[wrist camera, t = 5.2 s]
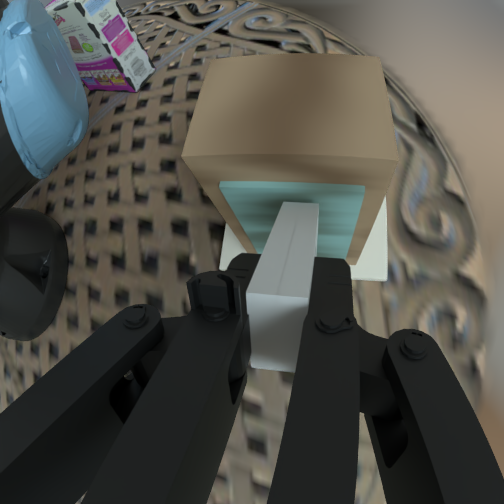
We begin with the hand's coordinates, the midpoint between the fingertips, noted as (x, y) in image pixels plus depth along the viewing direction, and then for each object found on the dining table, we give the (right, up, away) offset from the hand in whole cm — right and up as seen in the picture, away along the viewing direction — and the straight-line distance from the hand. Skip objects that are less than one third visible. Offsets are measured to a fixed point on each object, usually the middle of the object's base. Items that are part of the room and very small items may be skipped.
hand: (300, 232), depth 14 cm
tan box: (+2, +1, +11) cm, 11 cm away
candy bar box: (-20, +23, +24) cm, 39 cm away
